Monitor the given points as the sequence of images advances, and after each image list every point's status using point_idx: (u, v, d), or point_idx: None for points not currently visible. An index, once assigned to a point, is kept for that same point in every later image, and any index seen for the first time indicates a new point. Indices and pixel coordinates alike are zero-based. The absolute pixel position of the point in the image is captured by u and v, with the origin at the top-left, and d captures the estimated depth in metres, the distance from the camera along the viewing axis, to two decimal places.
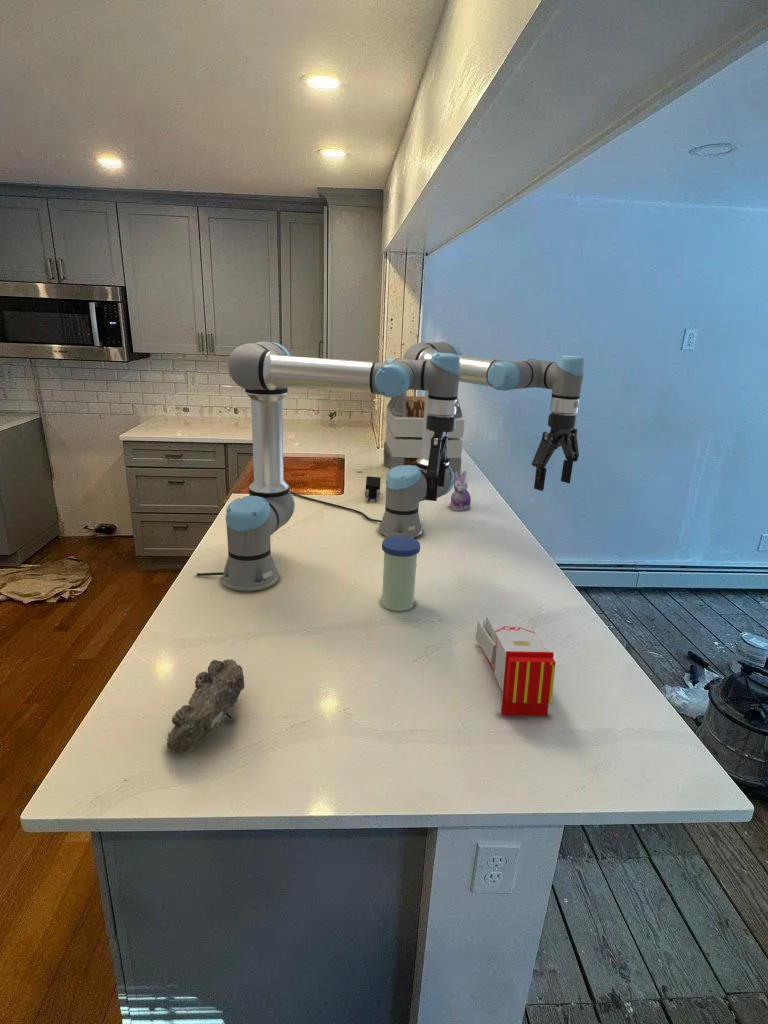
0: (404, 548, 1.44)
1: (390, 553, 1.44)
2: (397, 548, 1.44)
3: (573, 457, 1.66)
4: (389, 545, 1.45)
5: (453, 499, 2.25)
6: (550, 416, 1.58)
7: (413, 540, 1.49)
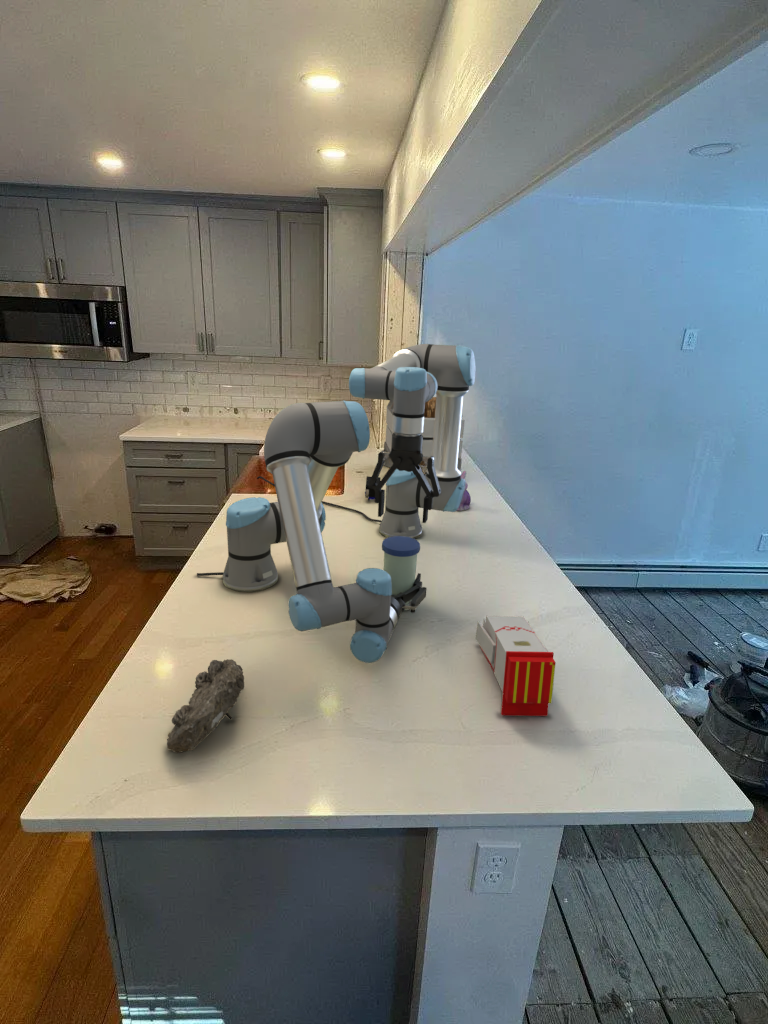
0: (404, 548, 1.44)
1: (390, 553, 1.44)
2: (397, 548, 1.44)
3: None
4: (389, 545, 1.45)
5: None
6: (418, 439, 1.35)
7: (413, 540, 1.49)
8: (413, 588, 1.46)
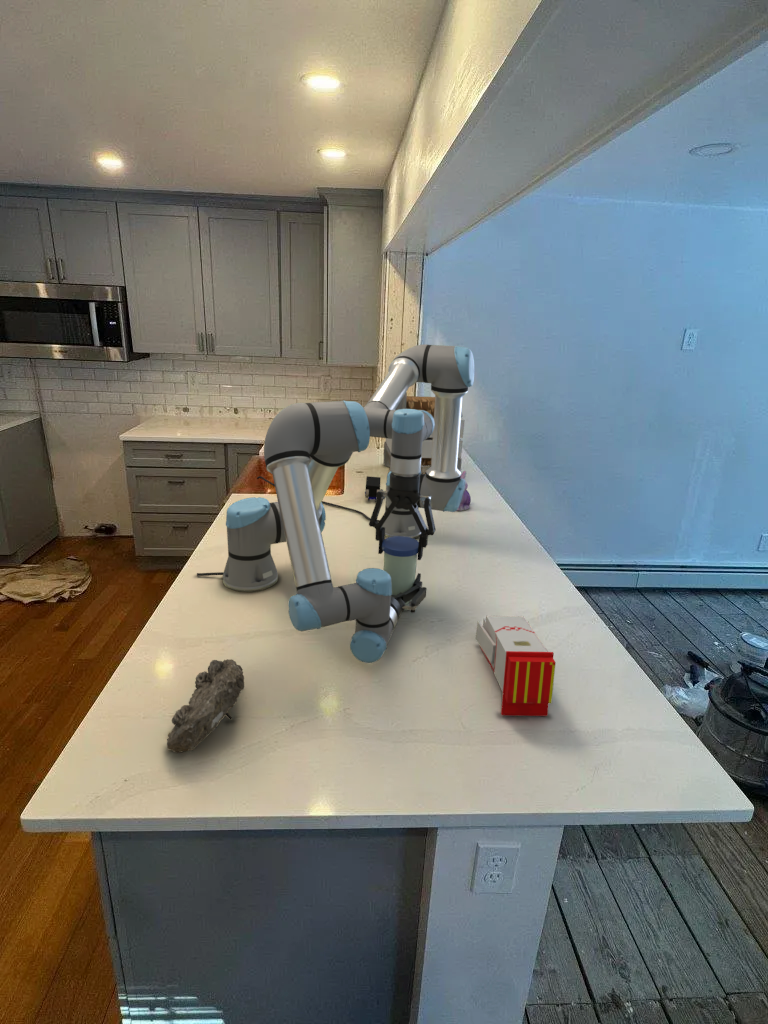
0: (404, 548, 1.44)
1: (390, 553, 1.44)
2: (397, 548, 1.44)
3: None
4: (389, 545, 1.45)
5: None
6: (416, 479, 1.39)
7: (413, 540, 1.49)
8: (413, 588, 1.46)
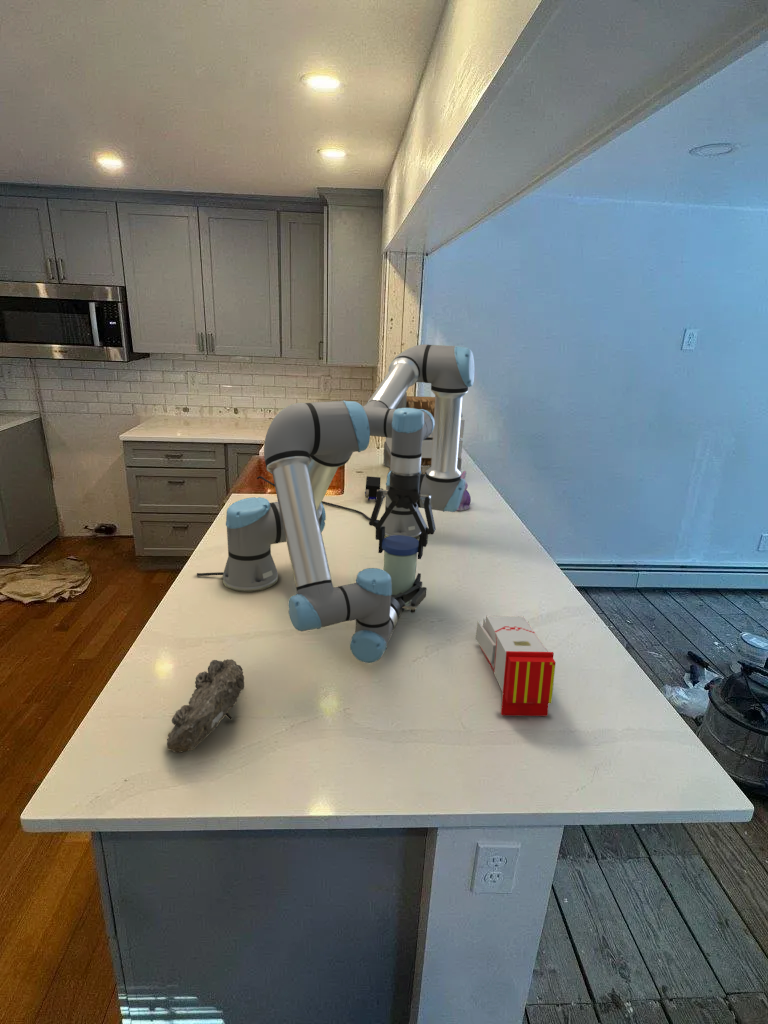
0: (413, 541, 1.48)
1: (417, 551, 1.45)
2: (414, 544, 1.46)
3: None
4: (408, 547, 1.44)
5: None
6: (416, 479, 1.38)
7: (392, 537, 1.50)
8: (413, 588, 1.46)
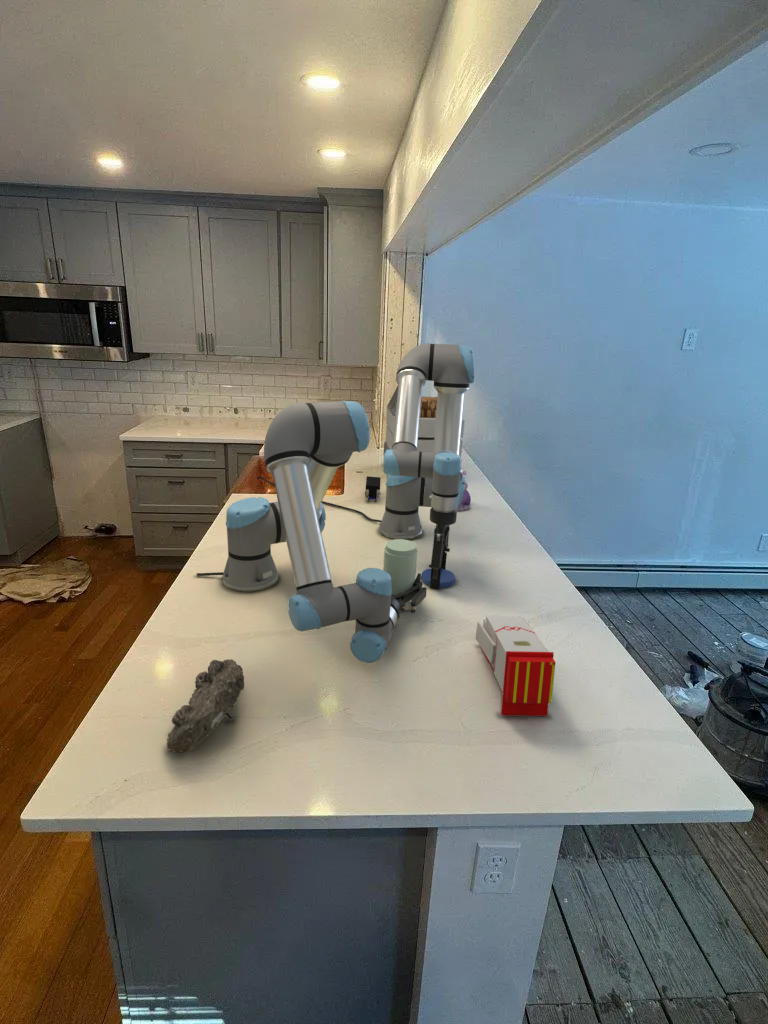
0: None
1: None
2: None
3: None
4: (447, 572, 1.68)
5: None
6: None
7: (428, 578, 1.64)
8: (413, 588, 1.46)
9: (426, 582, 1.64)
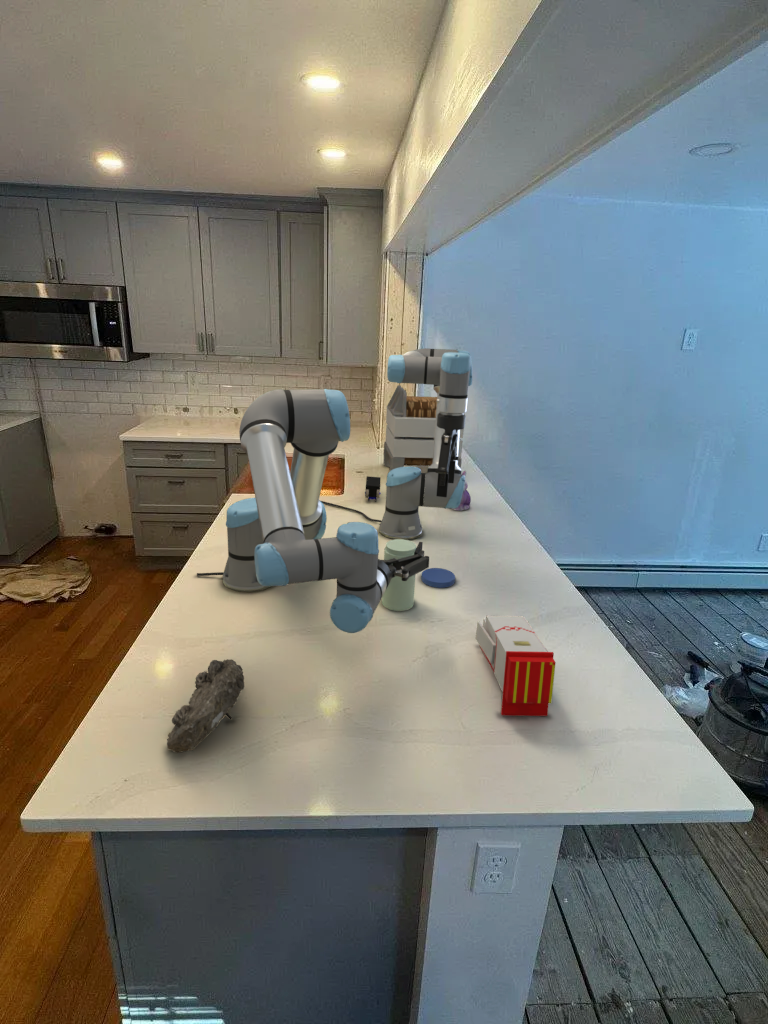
0: (434, 570, 1.70)
1: None
2: (440, 570, 1.70)
3: None
4: (447, 572, 1.68)
5: None
6: None
7: (428, 578, 1.64)
8: (412, 556, 1.26)
9: (426, 582, 1.64)
